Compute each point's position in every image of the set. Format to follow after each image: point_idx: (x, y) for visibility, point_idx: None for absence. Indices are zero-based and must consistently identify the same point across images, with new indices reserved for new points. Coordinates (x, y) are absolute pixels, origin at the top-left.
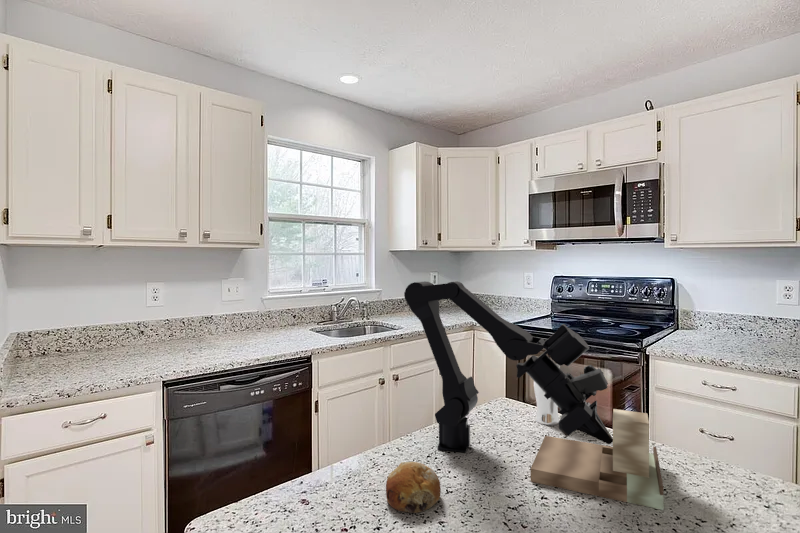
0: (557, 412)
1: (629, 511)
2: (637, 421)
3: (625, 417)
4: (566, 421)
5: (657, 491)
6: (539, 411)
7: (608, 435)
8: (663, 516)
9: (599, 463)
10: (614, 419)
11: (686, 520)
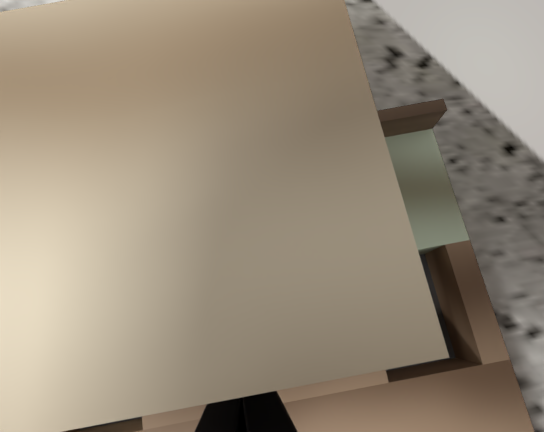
0: None
1: (501, 232)
2: (348, 53)
3: (272, 203)
4: None
5: (410, 139)
6: None
7: (276, 394)
8: (450, 140)
9: (290, 409)
10: (436, 329)
11: (424, 86)
